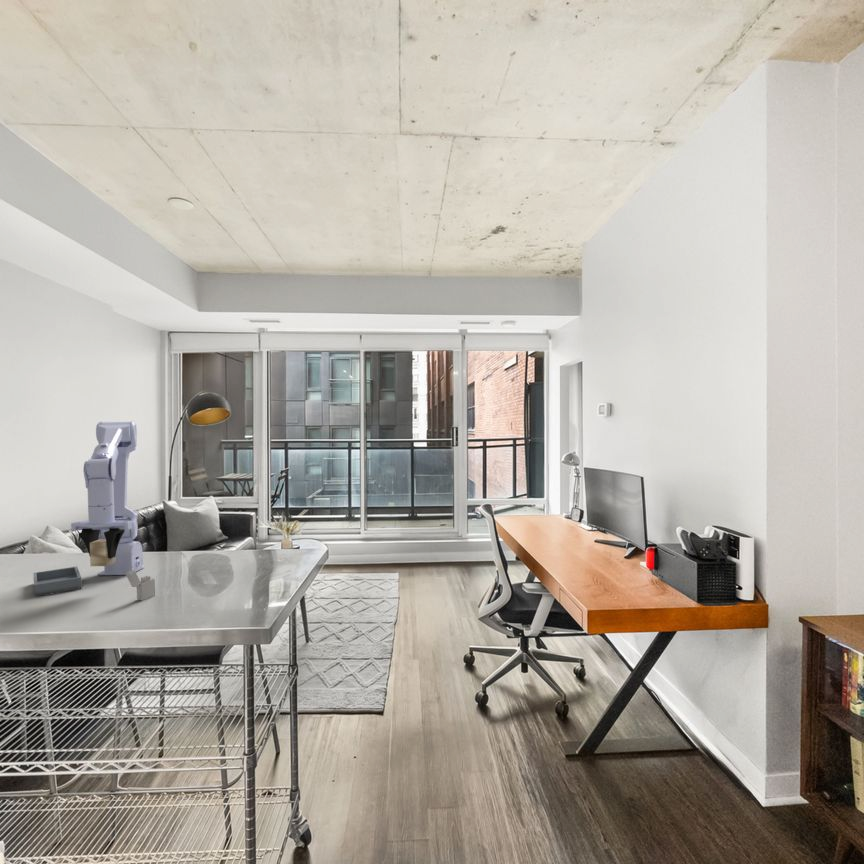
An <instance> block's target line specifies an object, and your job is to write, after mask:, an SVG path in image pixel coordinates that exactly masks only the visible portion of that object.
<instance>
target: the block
mask: <svg viewBox="0 0 864 864" xmlns="http://www.w3.org/2000/svg"><path fill="white" fill-rule="evenodd" d="M89 557H90V558H89V561H90V567H104V566H108V565H110V564H112V563H114V562H115V557H113V558H108V554H107V542H106V539H99V540H96V541H93V542H91V543H90V555H89Z"/></svg>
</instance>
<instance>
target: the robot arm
mask: <svg viewBox="0 0 864 864" xmlns="http://www.w3.org/2000/svg"><path fill="white" fill-rule="evenodd" d="M137 430H138V429H137V425H136V422H135V421H133V420H130V421H104V422H103V421H99V422H98V423H97V424H96V427H95V435H96V436H95V437H96V440H97V443H98V444H97V445H96V446H95V447H94V450H93V452H92V455H91V457H90V458H88V460H85V461H84V463H83V477H84V482H85V488H86V489H87V508H88V510H87V511H88V514H87V515H88V521H87V520H86V521H75V522H74V521H73V522H71V523H70V526H71V531H74V532H75V531H81V532H79V533H78V537H79V538H80V539H81V540H82V542H83V544H84V545H85V548H86V549H87V552H88V555H89V556H90V543H91V542H93V541H96V540H99V539H106V542H107V554H108V558H113V557H115V562H114V563H112V564H110V565H108V566H103V570H102V571H100V572H98V573H97V576H126V575H125V574H126V573H127V572H128V571H129V570H134V571H135V572H136V573H137V572H139V571H140V570H142V569H144V568H145V565H144V561H143V559H144V558H143V546H142V543H141V542H140V541H136V540H135V541H134V539H136V538H137V536H138V530H139V529H138V515H137V514H136V512H135V511H134V510H132V509H131V508H128V506H127V505H128V504H127V500H128V471H129V470H128V467H129V465H128V462H129V457H130V454H131V453H132V452H134V451H136V448H137V437H138V436H137V435H138V431H137Z"/></svg>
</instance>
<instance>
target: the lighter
mask: <svg viewBox="0 0 864 864" xmlns="http://www.w3.org/2000/svg"><path fill="white" fill-rule="evenodd" d="M124 576H126V578H127V580H128V582H129V585H130V586H131V587H133V588H136V601H139V600H143V601H145V600H148V599H150V597H151V598H153V597H155V596H156V578H152V577H151V575H146V576H142V577H140V578H139V576H138V574H137V571H136V572H135V571H134V570H129V571H128V572H127V573H126V574H125V575H124ZM147 598H148V599H147ZM144 599H145V600H144Z"/></svg>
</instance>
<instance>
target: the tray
mask: <svg viewBox="0 0 864 864" xmlns="http://www.w3.org/2000/svg"><path fill="white" fill-rule="evenodd" d="M82 587H83V586H82V576H81V573H80V571H79V568H78V566H71V567H63V568H56V569H51V570H44V571H43V570H42V571H37V572H33V595H34V597H35V596H37V597H40V596H39V595H42V596H46V595H45V594H48V595H52V594H51V593H54V594H58V593H57V592H60V593H66V592H71V591H70V590H72V591H76V589H78V590H81V589H80V588H82ZM65 591H66V592H65ZM35 598H36V597H35Z"/></svg>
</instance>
